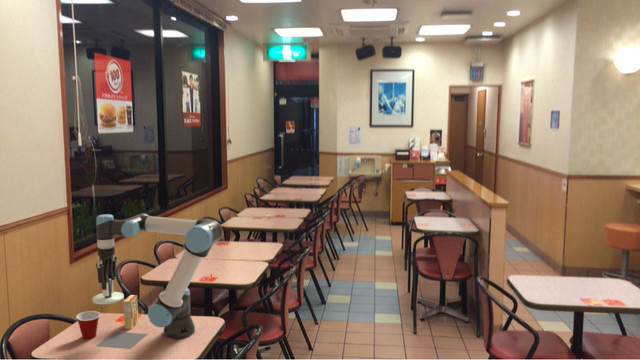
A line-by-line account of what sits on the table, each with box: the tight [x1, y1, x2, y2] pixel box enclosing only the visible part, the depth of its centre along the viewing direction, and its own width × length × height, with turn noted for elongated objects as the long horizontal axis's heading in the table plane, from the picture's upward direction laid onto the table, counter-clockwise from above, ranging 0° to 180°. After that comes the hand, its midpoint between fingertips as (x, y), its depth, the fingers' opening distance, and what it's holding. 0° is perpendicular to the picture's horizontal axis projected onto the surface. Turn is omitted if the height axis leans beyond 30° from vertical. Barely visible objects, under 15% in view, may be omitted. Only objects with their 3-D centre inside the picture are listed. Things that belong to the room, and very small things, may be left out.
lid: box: [91, 277, 125, 305], centre depth 238 cm, size 14×14×10 cm
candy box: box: [122, 294, 139, 330], centre depth 256 cm, size 9×4×15 cm, turn 179°
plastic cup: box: [75, 310, 101, 340], centre depth 243 cm, size 11×11×12 cm
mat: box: [95, 331, 149, 350], centre depth 240 cm, size 18×16×1 cm
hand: (108, 294), depth 238 cm, fingers closed on lid, 3 cm apart
